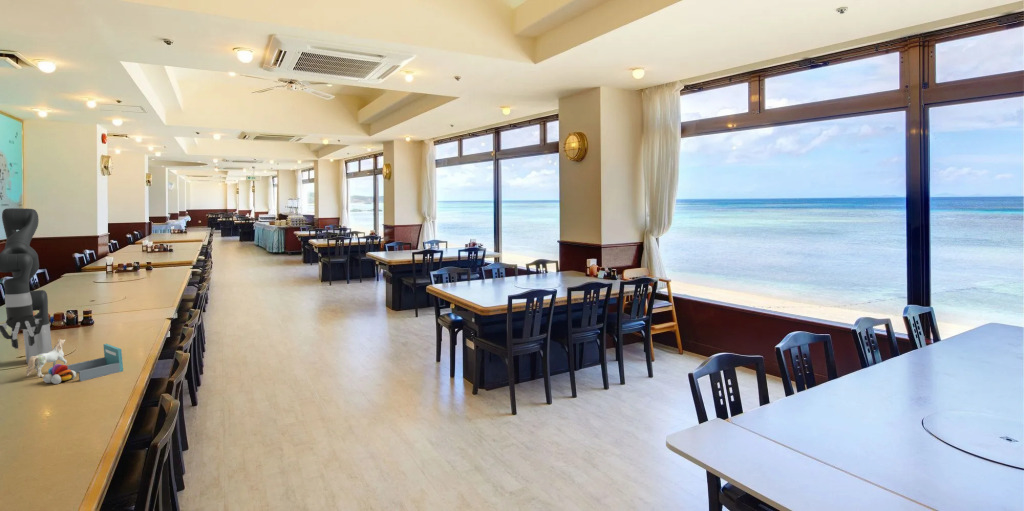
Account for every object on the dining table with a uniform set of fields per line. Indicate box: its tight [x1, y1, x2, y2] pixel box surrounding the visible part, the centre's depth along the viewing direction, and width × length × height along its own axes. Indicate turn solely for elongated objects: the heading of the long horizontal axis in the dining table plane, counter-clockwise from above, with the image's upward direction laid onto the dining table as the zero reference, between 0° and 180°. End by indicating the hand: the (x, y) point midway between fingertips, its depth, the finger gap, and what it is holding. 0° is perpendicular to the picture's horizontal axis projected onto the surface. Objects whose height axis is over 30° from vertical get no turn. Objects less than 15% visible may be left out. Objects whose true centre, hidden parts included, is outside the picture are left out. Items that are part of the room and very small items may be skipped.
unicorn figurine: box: [25, 336, 68, 378], centre depth 224 cm, size 7×20×13 cm, turn 4°
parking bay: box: [66, 343, 124, 382], centre depth 224 cm, size 15×15×10 cm
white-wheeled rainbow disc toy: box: [42, 363, 77, 385], centre depth 214 cm, size 8×10×7 cm
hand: (23, 346), depth 204 cm, fingers open, 3 cm apart
